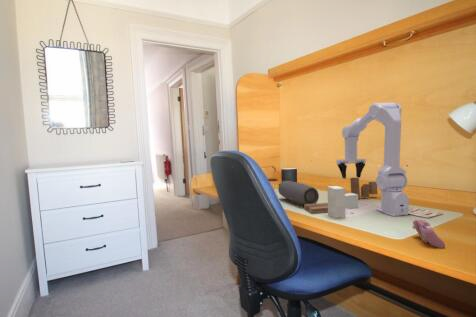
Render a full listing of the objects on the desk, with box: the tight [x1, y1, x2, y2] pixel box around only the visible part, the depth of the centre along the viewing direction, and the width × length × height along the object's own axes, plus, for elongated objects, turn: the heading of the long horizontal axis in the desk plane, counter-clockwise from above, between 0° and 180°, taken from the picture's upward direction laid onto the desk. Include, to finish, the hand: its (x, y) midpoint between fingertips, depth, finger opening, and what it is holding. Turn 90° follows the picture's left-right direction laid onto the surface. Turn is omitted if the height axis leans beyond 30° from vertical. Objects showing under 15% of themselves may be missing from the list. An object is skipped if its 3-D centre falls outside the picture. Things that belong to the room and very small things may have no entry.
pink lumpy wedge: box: [411, 218, 446, 249], centre depth 76 cm, size 10×5×7 cm, turn 163°
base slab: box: [303, 202, 328, 215], centre depth 113 cm, size 8×14×2 cm, turn 99°
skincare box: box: [327, 185, 346, 220], centre depth 104 cm, size 6×4×12 cm
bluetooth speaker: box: [277, 180, 320, 206], centre depth 129 cm, size 23×9×10 cm, turn 20°
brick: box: [345, 192, 359, 210], centre depth 117 cm, size 4×8×6 cm, turn 99°
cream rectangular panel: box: [345, 211, 356, 215], centre depth 108 cm, size 6×8×1 cm
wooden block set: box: [349, 177, 378, 200], centre depth 134 cm, size 18×9×10 cm, turn 84°
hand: (351, 177), depth 134 cm, fingers open, 7 cm apart
